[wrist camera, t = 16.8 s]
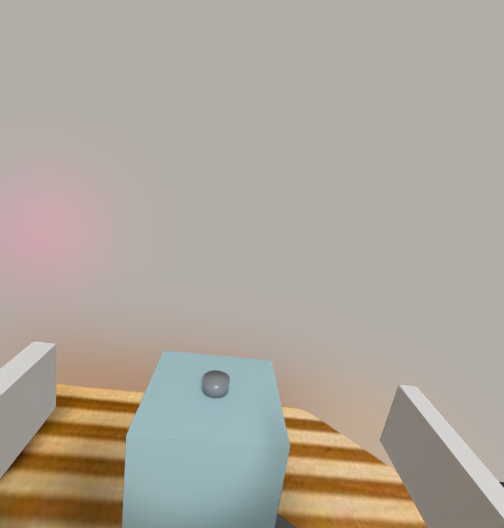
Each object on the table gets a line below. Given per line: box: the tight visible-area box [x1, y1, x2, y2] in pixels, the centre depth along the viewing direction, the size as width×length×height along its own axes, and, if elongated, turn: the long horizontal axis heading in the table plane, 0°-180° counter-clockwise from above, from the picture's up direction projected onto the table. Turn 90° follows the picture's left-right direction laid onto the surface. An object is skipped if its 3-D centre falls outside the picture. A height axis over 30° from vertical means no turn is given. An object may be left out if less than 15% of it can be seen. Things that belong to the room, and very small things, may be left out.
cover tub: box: [122, 351, 290, 528], centre depth 29 cm, size 12×12×11 cm
